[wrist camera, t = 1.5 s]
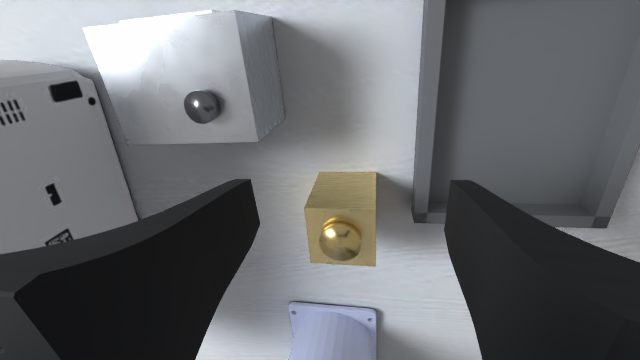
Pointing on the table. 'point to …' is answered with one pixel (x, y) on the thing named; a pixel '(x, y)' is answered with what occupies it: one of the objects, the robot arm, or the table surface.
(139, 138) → the box
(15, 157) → the stereo radio cassette player
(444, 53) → the parts tray
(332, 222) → the fitting block
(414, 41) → the table surface
